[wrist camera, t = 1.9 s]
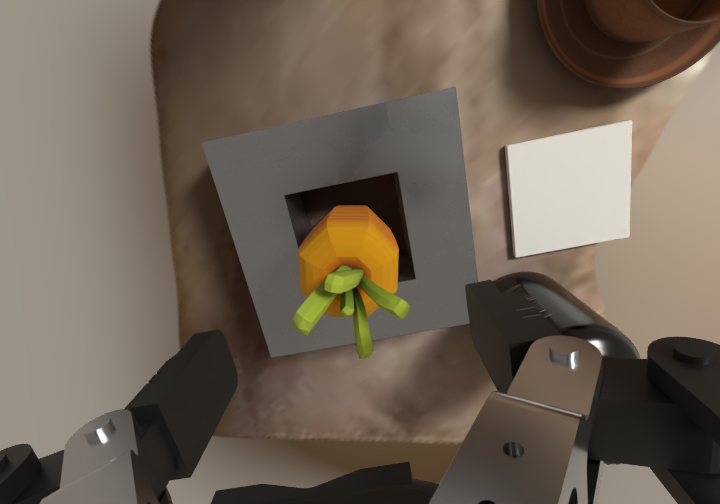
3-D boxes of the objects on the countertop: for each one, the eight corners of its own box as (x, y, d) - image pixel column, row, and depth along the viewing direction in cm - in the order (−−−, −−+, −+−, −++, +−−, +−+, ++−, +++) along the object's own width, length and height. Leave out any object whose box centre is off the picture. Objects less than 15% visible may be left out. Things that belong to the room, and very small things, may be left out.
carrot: (400, 201, 26) (442, 284, 12) (372, 261, 28) (381, 401, 13) (335, 173, 26) (297, 226, 11) (310, 237, 27) (249, 355, 13)
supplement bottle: (482, 355, 30) (554, 493, 19) (468, 280, 28) (539, 383, 17) (567, 336, 29) (697, 467, 18) (559, 259, 27) (699, 350, 16)
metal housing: (232, 140, 25) (201, 142, 20) (437, 95, 24) (455, 86, 19) (286, 320, 29) (271, 357, 24) (462, 289, 28) (482, 321, 23)
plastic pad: (504, 145, 25) (507, 145, 24) (626, 120, 24) (632, 120, 24) (513, 255, 27) (516, 257, 27) (624, 234, 27) (629, 236, 26)
